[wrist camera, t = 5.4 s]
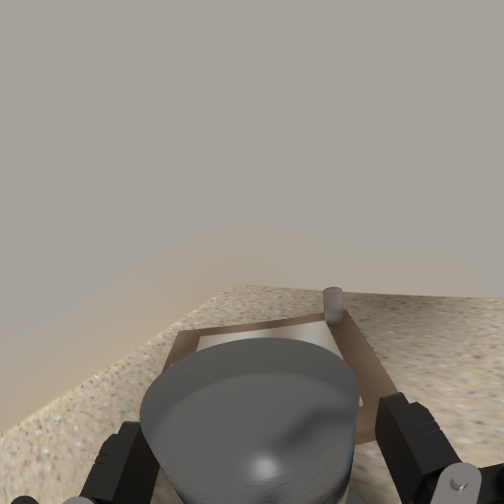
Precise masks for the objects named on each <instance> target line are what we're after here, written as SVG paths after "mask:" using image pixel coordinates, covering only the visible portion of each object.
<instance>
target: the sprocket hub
mask: <svg viewBox="0 0 504 504" xmlns="http://www.w3.org/2000/svg"><path fill="white" fill-rule="evenodd" d="M359 401H360V390H359V384H358V381H357V378H356V376H355V374H354V372H353V371H352V369H351V368H350V367H349V365H348V364H347V363H346V362H345V361H344V360H343V359H341V358H340V357H339V356H338V355H336V354H335V353H333V352H331V351H330V350H328V349H325V348H323V347H321V346H318V345H316V344H313V343H309V342H305V341H301V340H295V339H288V338H274V337H264V338H249V339H241V340H235V341H230V342H225V343H221V344H218V345H214V346H211V347H208V348H205V349H202V350H200V351H197V352H195V353H193V354H191V355H189V356H187V357H184V358H183V359H181V360H179V361H178V362H176V363H174V364H173V365H172V366H170V367H169V368H167V369H166V370H165V371H164V372H163V373H161V374H160V375H159V376H158V377H157V378H156V379H155V380H154V382H153V383H152V384H151V386H150V387H149V388H148V390H147V392H146V394H145V396H144V398H143V401H142V404H141V408H140V425H141V429H142V432H143V435H144V437H145V439H146V441H147V443H148V444H149V446H150V448H151V450H152V452H153V454H154V455H155V457H156V459H157V461H158V462H159V464H160V466H161V468H162V469H163V471H164V473H165V474H166V476H167V478H168V479H169V481H170V482H171V484H172V486H173V487H174V489H175V490H176V492H177V493H178V495H179V497H180V498H181V500H182V501H183V503H184V504H365V503H364V501H363V500H362V499H361V498H360V497H359V495H358V494H357V493H355V492H354V491H353V490H352V489H351V488H350V487H348V486H349V480H350V474H351V468H352V461H353V455H354V447H355V439H356V431H357V422H358V412H359Z"/></svg>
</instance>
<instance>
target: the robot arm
mask: <svg viewBox="0 0 504 504" xmlns="http://www.w3.org/2000/svg"><path fill="white" fill-rule="evenodd" d="M375 436H376V440H377V443H378V445H379V447H380V450H381V452H382V455H383V457H384V459H385V462H386V464H387V467H388V469H389V472H390V474H391V477H392V479H393V482H394V484H395V487H396V489H397V492H398V494H399V497H400V499H401V502H402V504H504V463H502V464H497V465H493V466H489V467H484V468H476V467H475V466H474V465H472V464H469V463H463V462H462V461H461V460H460V459H459V457H458V456H457V454H456V452H455V451H454V449H453V448H452V446H451V444H450V443H449V441H448V440H447V438H446V436H445V435H444V433H443V432H442V430H440V427H439V425H438V424H437V422H436V421H435V419H434V418H433V416H432V415H431V413H430V412H429V410H428V409H427V408H425V407H424V406H422V405H421V404H419V403H418V402H414V403H411V404H409V402H408V401H407V399H406V398H405V396H404V394H403V393H402V392H398V393H395V394H391V395H387V396H384V397H380V399H379V402H378V409H377V416H376V422H375ZM159 467H160V464H159V462H158V461H157V459H156V457H155V455H154V454H153V452H152V450H151V448H150V446H149V444H148V443H147V441H146V439H145V437H144V435H143V432H142V429H141V425H140V422H130V421H125V422H123V423H122V425H121V428H120V430H119V432H118V434H112V435H111V436H110V437H109V438H108V439H107V440H106V441H105V442H104V443H103V445H102V447H101V449H100V451H99V455H98V456H97V458H96V460H95V464H93V466H92V469H91V471H90V473H89V475H88V478H87V480H86V482H85V484H84V487H83V489H82V491H81V493H80V495H79V496H78V497H72V498H69V499H68V500H66V501H65V502H64V503H63V504H150V502H151V498H152V494H153V490H154V486H155V482H156V478H157V475H158V471H159ZM11 504H39V503H38V502H37V501H36V500H35V499H34V498H32V497H30V496H19V497H17V498H16V499H14V500H13V501H12V503H11Z"/></svg>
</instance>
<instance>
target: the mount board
mask: <svg viewBox="0 0 504 504" xmlns="http://www.w3.org/2000/svg"><path fill="white" fill-rule="evenodd" d="M323 295H324V313H322V314H315V315H309V316H302V317H296V318H289V319H282V320H274V321H267V322H259V323H251V324H243V325H234V326H225V327H215V328H205V329H195V330H184V331H179V332H178V334H177V337H176V339H175V342H174V344H173V346H172V349H171V351H170V354H169V356H168V358H167V361H166V363H165V366H164V368H163V371H162V373H163V372H164V371H165V370H166V369H167V368H169V367H170V366H172V365H173V364H174V363H176V362H178V361H179V360H181V359H183V358H184V357H187V356H189V355H191V354H193V353H195V352H197V351H200V350H202V349H205V348H208V347H211V346H214V345H218V344H221V343H225V342H230V341H235V340H241V339H249V338H264V337H274V338H288V339H295V340H301V341H305V342H309V343H313V344H316V345H318V346H321V347H323V348H325V349H328V350H330V351H331V352H333V353H335V354H336V355H338V356H339V357H340V358H341V359H343V360H344V361H345V362H346V363H347V364H348V365H349V367H350V368H351V369H352V371H353V372H354V374H355V376H356V378H357V381H358V384H359V390H360V401H359V412H358V422H357V431H356V439H355V445H357V444H361V443H365V442H369V441H373V440H376V436H375V422H376V416H377V409H378V402H379V399H380V397H384V396H387V395H391V394H395V393H398V391H397V389H396V387H395V386H394V384H393V382H392V381H391V379H390V378H389V376H388V374H387V373H386V371H385V369H384V368H383V366H382V365H381V363H380V361H379V360H378V358H377V357H376V355H375V354H374V352H373V350H372V349H371V347H370V346H369V344H368V343H367V341H366V339H365V338H364V336H363V335H362V333H361V332H360V330H359V329H358V327H357V326H356V324H355V322H354V321H353V319H352V318H351V316H350V315H349V313H348V312H347V310H346V309H345V310H343V308H342V289H341V288H338V287H330V288H326V289H325V290H324V291H323Z"/></svg>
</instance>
